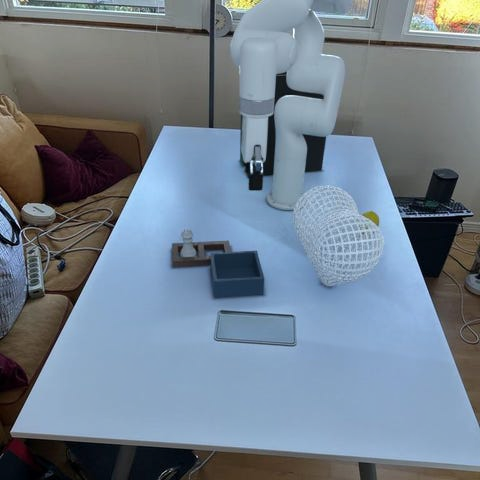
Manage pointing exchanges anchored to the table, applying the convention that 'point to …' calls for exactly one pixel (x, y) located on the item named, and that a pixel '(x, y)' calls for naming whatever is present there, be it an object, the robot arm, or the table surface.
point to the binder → (313, 142)
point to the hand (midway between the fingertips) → (253, 180)
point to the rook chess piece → (187, 244)
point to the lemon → (372, 217)
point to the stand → (201, 249)
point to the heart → (336, 236)
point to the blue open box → (236, 274)
